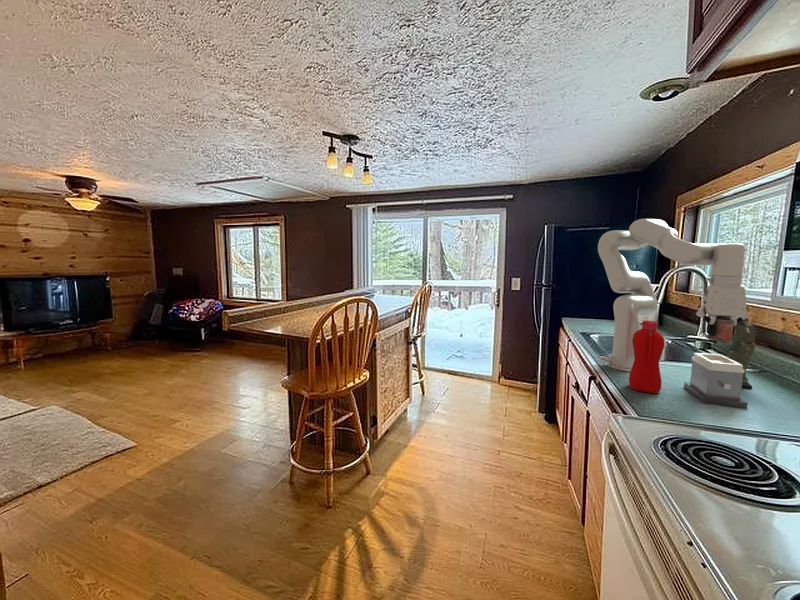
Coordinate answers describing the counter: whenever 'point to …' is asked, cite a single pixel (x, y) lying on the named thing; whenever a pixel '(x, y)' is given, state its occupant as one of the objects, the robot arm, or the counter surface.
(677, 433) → the counter surface
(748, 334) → the mechanical leg
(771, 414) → the counter surface
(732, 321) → the lighter
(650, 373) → the water bottle
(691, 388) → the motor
